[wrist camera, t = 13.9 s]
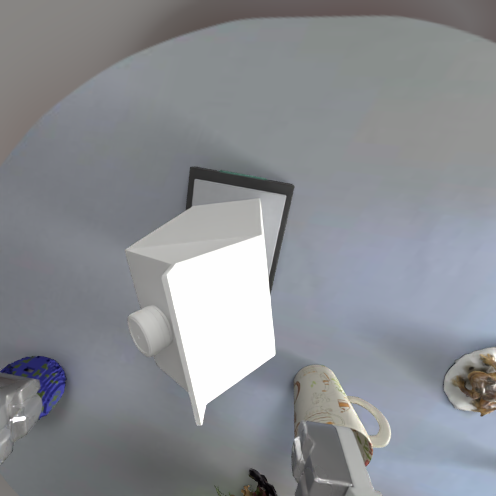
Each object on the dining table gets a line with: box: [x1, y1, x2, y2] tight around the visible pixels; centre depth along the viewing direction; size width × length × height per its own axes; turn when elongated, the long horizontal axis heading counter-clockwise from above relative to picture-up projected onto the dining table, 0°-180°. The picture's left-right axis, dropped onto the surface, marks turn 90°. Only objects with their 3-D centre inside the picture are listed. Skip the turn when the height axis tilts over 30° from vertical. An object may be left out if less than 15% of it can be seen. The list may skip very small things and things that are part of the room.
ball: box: [0, 356, 66, 420], centre depth 35 cm, size 8×8×8 cm
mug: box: [294, 365, 391, 467], centre depth 33 cm, size 8×13×10 cm, turn 83°
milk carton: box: [125, 198, 275, 426], centre depth 19 cm, size 7×7×19 cm
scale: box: [186, 167, 295, 294], centre depth 30 cm, size 13×11×3 cm
